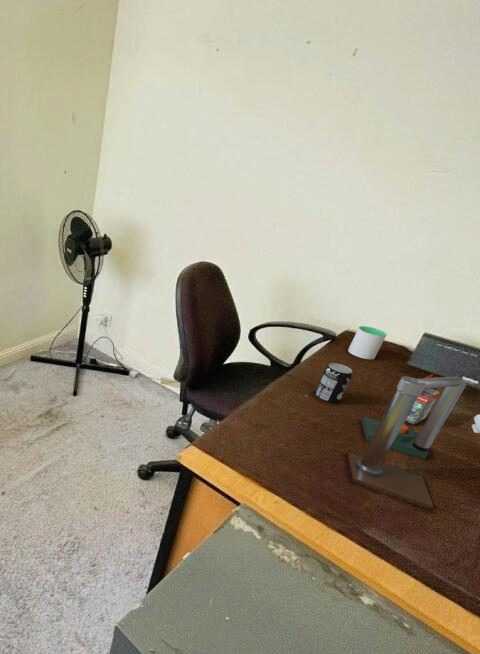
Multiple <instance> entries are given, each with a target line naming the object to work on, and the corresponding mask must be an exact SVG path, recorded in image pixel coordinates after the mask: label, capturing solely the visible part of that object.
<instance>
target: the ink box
mask: <svg viewBox="0 0 480 654" xmlns="http://www.w3.org/2000/svg"><path fill="white" fill-rule="evenodd" d="M434 374H435V373H432V374H430V375H428V376H425V378H433V376H434ZM440 394H441V392H440V391H439V390H436V389H434V388H424V390H423V392H422V394H421V395H420V396H419V397H418V398H417V400H416V402H415V404H414V406H413V408H412V410H411V411H410V413H409V415H408V417H407V419H406V421H405V422H407V423H408V424H411V425H413V426H414V425H416V424H418V423H420V422H421V421H423V420H424V419H426V418H427V416H428V414H429V413H430V411H431V409H432V407H433V406H434V405H435V402H436V401H437V398H438V397H439V395H440Z"/></svg>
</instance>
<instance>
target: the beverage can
mask: <svg viewBox="0 0 480 654" xmlns="http://www.w3.org/2000/svg"><path fill="white" fill-rule="evenodd" d="M352 373H353V370H352V369H351V368H350V367H348V366H346V365H345V364H341V363H337V362H330V363H329V364H328V365H327V366H325V368H324V370H323V372H322V375H321V377H320V379H319V381H318V383H317V386H316V387H315V390H314V395H315V396H316V397H317V398H318V399H320V400H321V401H324V402H327V403H329V404H337V403H340V401H341V400H342V397H343V395H344V393H345V391H346V389H347V387H348V385H349V383H350V381H351V380H352V377H353V374H352Z"/></svg>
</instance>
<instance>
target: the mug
mask: <svg viewBox="0 0 480 654" xmlns="http://www.w3.org/2000/svg"><path fill="white" fill-rule="evenodd" d="M386 338H387V333H386V332H385V331H383V330H381V329H379V328H376V327H372V326H366V325H361V326H359V327H358V328H357V331H356V333H355V335H354V337H353V339H352V340H351V342H350V345H349V347H348V350H347V352H348V353H349V354H351V355H353V356H355V357H357V358H360V359H364V360H375V358H377V357H376V356H377V354H378V352H379V351H380V349H381V347H382V345H383V344H384V340H385V339H386Z"/></svg>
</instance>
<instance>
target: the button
mask: <svg viewBox="0 0 480 654" xmlns="http://www.w3.org/2000/svg"><path fill="white" fill-rule="evenodd" d="M408 429H409V427H408V426H407V425H406V424H405V423H404V425H403V426H402V428H401V430H400V432H399V433H401V434H405V433H406V431H407V430H408Z"/></svg>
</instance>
